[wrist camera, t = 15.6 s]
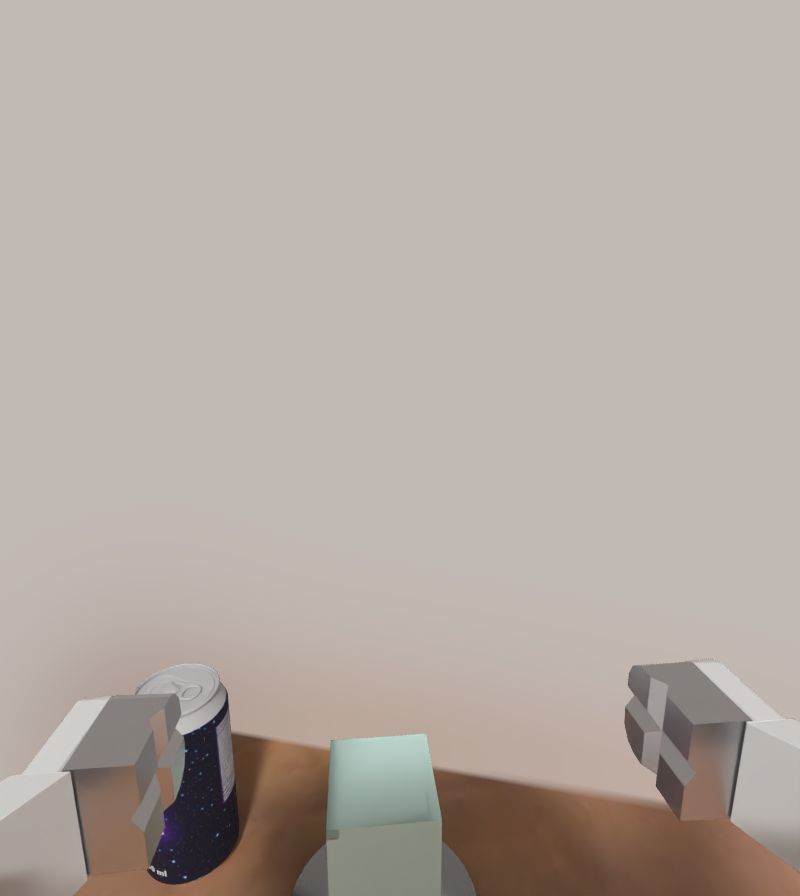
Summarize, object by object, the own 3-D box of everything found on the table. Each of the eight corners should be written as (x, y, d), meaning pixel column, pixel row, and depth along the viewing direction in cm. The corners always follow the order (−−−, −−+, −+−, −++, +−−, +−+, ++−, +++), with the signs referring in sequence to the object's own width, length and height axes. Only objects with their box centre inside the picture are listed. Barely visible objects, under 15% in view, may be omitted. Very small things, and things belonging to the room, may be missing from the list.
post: (458, 820, 35) (460, 726, 34) (504, 1030, 25) (511, 907, 23) (296, 833, 34) (291, 738, 33) (271, 1059, 24) (260, 933, 22)
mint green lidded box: (425, 856, 32) (426, 733, 30) (439, 961, 27) (442, 820, 25) (335, 864, 32) (330, 740, 30) (332, 973, 26) (326, 830, 24)
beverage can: (182, 803, 37) (165, 654, 34) (255, 819, 35) (243, 665, 33) (124, 884, 31) (99, 714, 29) (208, 907, 30) (189, 730, 27)
